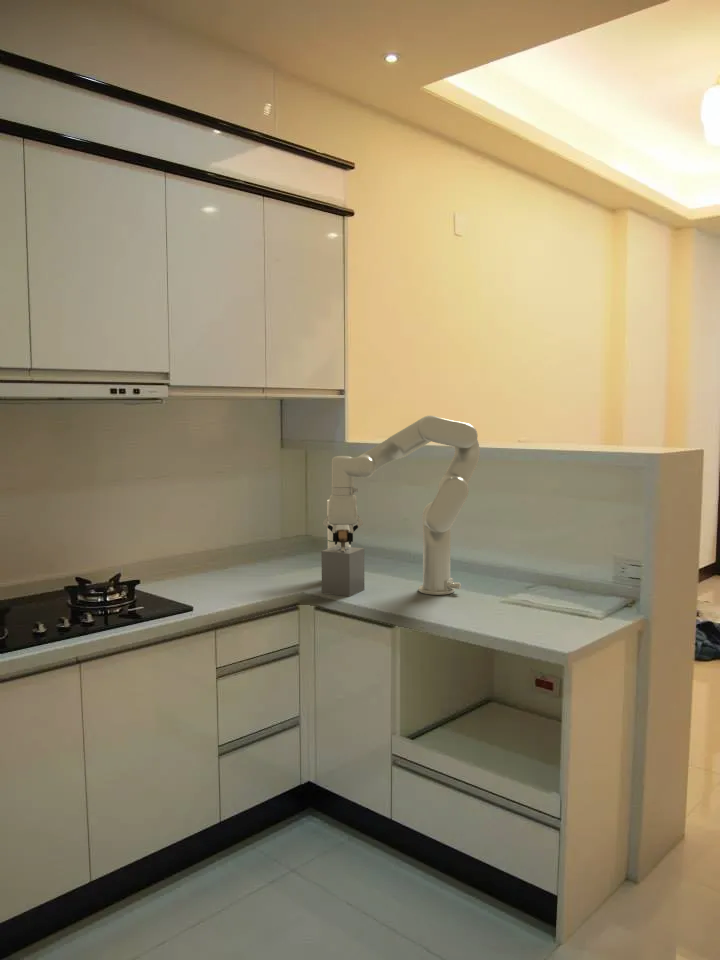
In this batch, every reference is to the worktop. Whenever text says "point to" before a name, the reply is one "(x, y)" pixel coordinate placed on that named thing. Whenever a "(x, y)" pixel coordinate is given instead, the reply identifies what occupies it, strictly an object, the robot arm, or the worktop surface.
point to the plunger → (343, 537)
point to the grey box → (342, 571)
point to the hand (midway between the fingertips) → (343, 543)
